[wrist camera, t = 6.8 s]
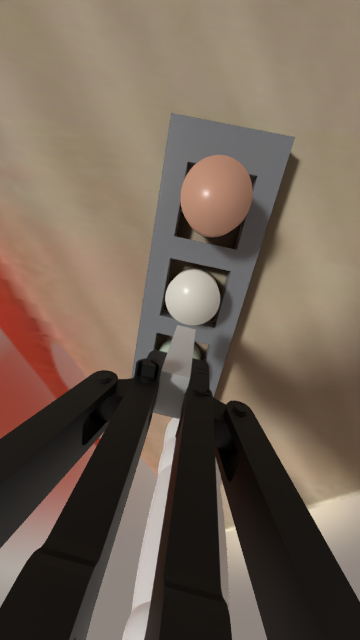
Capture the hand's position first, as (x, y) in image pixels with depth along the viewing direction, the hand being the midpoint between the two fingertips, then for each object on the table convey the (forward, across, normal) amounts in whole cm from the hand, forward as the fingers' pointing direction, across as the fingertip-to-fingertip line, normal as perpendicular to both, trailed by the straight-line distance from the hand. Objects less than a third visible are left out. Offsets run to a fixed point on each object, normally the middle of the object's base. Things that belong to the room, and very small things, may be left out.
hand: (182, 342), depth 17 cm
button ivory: (+8, 0, +3) cm, 8 cm away
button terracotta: (+6, 0, +11) cm, 12 cm away
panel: (+8, 0, +3) cm, 8 cm away
